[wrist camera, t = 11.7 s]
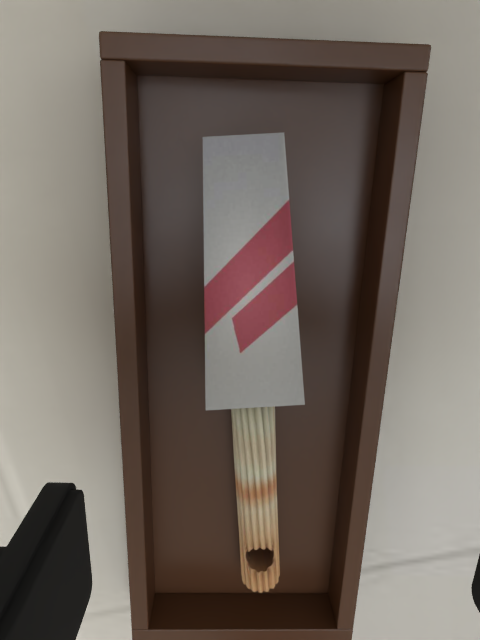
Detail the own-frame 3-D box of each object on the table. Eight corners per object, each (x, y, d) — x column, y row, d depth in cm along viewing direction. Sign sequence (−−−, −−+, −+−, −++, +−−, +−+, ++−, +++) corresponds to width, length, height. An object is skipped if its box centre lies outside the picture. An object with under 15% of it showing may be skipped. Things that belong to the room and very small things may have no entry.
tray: (119, 55, 16) (97, 30, 14) (400, 66, 17) (432, 43, 14) (143, 591, 24) (132, 642, 21) (337, 591, 24) (351, 642, 21)
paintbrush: (308, 128, 14) (302, 600, 20) (295, 134, 16) (293, 551, 23) (183, 132, 14) (218, 605, 20) (190, 138, 16) (218, 555, 23)
